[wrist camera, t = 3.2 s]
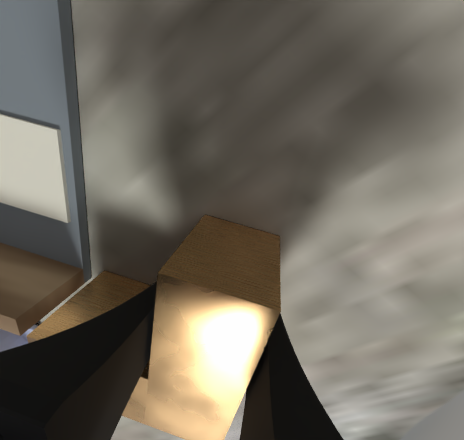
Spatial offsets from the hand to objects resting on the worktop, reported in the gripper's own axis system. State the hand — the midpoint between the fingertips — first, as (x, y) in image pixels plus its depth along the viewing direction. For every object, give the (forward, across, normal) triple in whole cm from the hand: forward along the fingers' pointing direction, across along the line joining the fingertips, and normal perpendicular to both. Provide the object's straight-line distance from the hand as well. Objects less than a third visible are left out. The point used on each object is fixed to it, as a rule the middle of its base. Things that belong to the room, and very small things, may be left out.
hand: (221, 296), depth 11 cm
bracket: (+2, +3, +1) cm, 4 cm away
